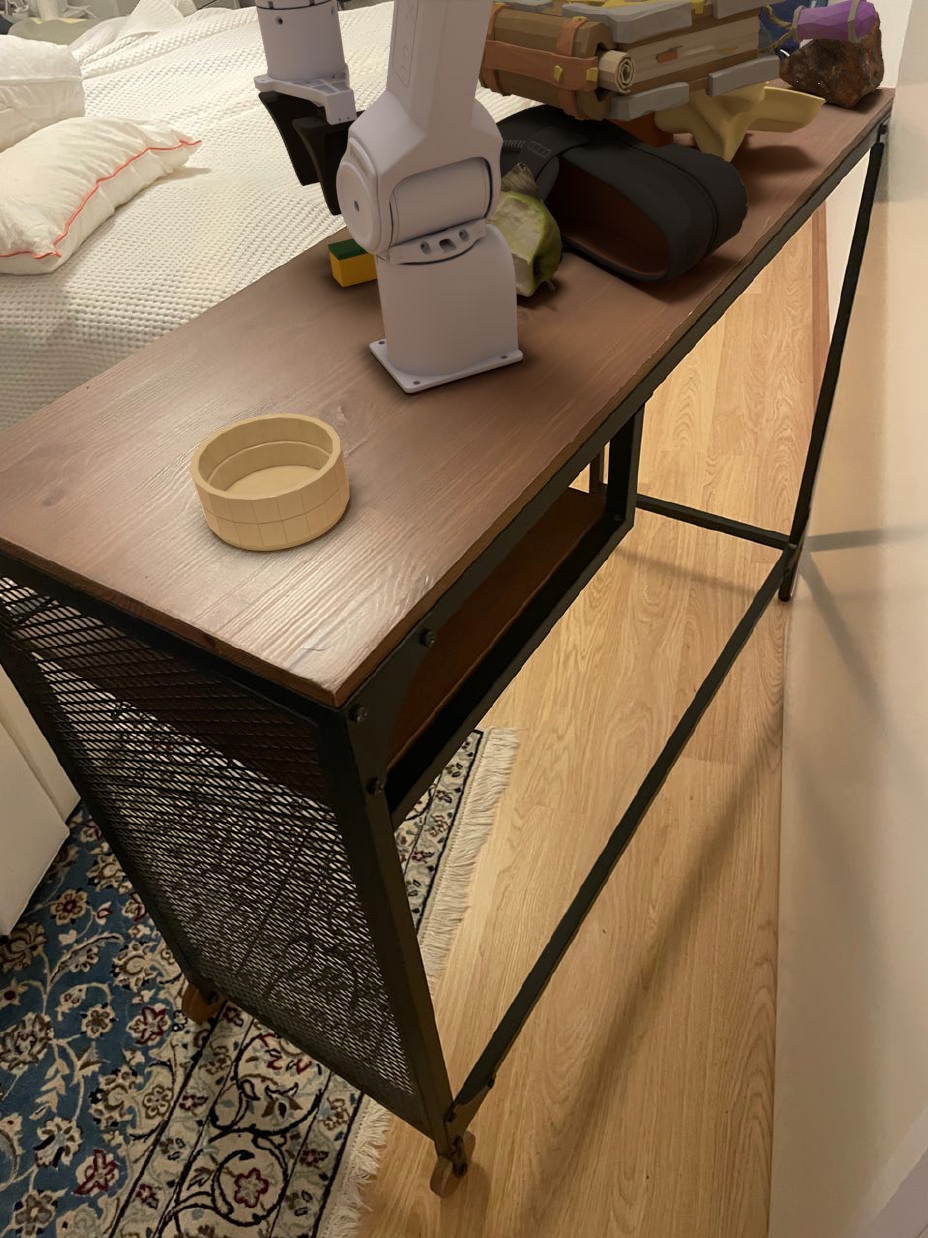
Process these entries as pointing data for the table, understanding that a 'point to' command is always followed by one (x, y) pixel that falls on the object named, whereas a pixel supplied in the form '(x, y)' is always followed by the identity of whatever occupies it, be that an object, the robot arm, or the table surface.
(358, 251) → the sponge
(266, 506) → the bowl
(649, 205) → the loafer
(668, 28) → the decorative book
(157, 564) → the table surface
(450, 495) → the table surface
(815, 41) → the rock
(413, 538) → the table surface
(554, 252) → the fruit
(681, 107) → the beige curved piece
